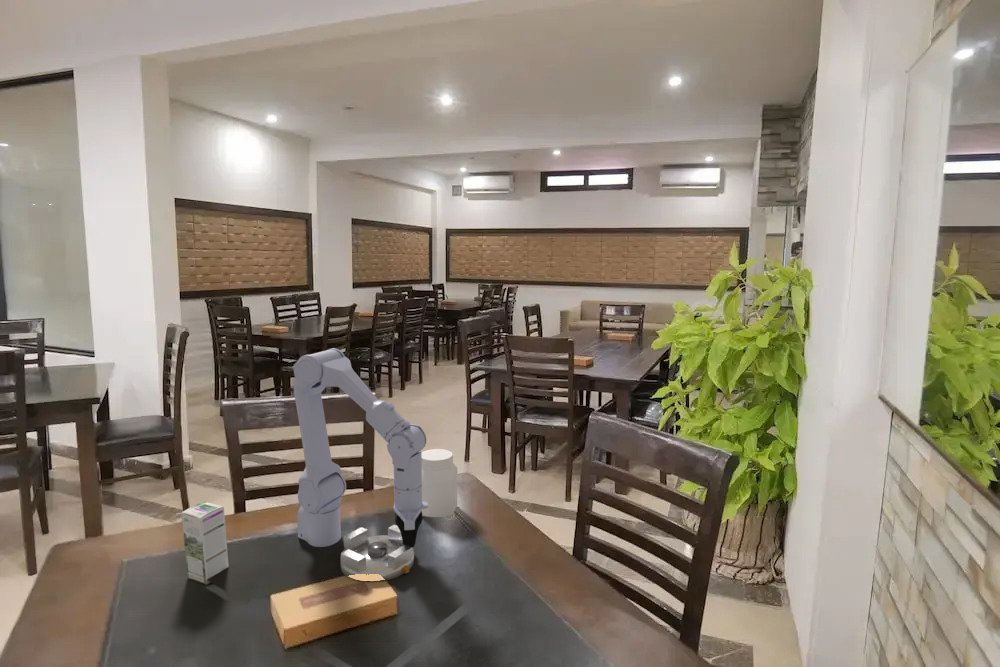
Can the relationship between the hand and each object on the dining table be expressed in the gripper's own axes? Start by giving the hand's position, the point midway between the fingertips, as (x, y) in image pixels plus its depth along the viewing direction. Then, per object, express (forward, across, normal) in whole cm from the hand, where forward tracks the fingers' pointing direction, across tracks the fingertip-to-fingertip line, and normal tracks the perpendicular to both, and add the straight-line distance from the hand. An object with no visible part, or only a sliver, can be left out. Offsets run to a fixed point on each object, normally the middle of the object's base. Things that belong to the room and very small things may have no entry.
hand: (409, 546), depth 124 cm
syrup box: (+4, +3, +40) cm, 41 cm away
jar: (+4, +24, -8) cm, 26 cm away
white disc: (+3, 0, +6) cm, 7 cm away
